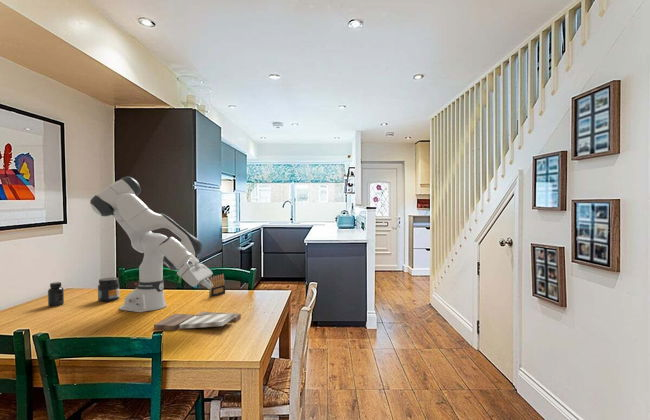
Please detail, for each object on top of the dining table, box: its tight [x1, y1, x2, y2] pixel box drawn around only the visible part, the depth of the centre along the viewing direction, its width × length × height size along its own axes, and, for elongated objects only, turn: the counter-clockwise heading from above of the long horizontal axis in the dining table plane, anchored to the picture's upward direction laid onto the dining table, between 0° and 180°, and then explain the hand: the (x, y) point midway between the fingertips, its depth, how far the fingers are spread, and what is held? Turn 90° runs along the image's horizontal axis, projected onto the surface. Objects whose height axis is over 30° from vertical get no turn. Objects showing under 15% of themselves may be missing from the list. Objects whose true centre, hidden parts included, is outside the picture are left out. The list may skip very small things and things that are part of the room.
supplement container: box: [97, 276, 120, 303], centre depth 206 cm, size 10×10×12 cm
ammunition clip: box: [208, 273, 226, 298], centre depth 217 cm, size 11×2×12 cm, turn 149°
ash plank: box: [179, 312, 235, 330], centre depth 162 cm, size 20×12×2 cm, turn 80°
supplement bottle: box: [47, 281, 65, 307], centre depth 195 cm, size 7×7×12 cm
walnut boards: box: [153, 311, 242, 331], centre depth 165 cm, size 31×21×2 cm
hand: (211, 287), depth 164 cm, fingers closed
